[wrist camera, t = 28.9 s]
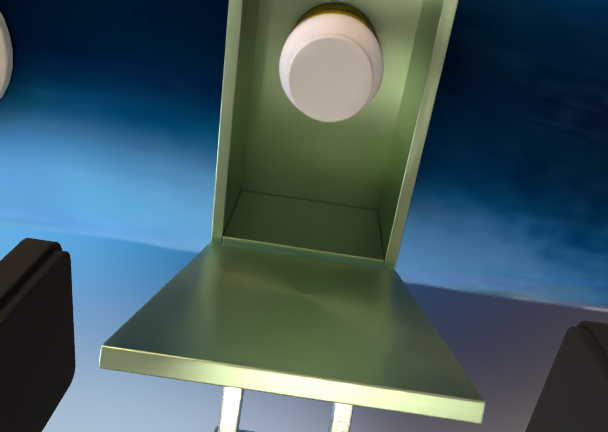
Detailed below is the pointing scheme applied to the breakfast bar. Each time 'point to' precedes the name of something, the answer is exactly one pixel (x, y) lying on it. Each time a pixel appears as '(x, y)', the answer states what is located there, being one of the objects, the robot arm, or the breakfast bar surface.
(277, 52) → the bin
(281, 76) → the pill bottle
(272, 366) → the bin lid
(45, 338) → the robot arm
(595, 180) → the breakfast bar surface
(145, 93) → the breakfast bar surface
